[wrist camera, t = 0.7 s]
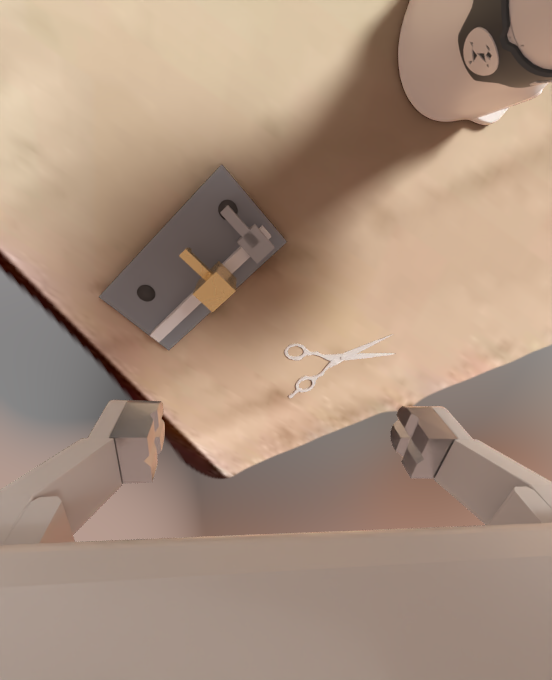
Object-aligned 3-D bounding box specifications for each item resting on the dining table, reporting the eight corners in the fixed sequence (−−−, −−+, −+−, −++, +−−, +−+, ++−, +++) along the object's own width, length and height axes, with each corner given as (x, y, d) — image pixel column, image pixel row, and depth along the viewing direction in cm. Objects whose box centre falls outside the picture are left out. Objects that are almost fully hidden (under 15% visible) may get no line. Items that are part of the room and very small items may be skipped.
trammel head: (197, 236, 39) (190, 246, 34) (236, 276, 42) (236, 291, 37) (175, 257, 40) (165, 270, 35) (216, 295, 43) (212, 312, 38)
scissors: (274, 349, 50) (394, 316, 49) (273, 347, 51) (392, 314, 50) (289, 398, 55) (399, 369, 54) (288, 395, 56) (397, 367, 55)
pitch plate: (221, 164, 37) (219, 163, 34) (285, 240, 42) (289, 246, 39) (101, 294, 43) (89, 305, 40) (170, 347, 48) (164, 361, 45)
